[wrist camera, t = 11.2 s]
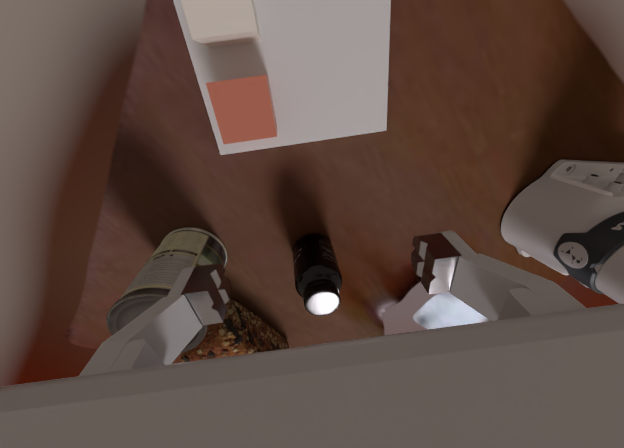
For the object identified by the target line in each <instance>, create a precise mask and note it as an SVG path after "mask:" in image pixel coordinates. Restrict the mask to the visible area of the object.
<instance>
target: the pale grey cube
mask: <svg viewBox="0 0 624 448" xmlns="http://www.w3.org/2000/svg"><path fill="white" fill-rule="evenodd" d="M181 2H182V6H183V9H184V13H185V16H186V19H187V23H188V26H189V30H190V33H191V36H192V39H193V40H195V41H197V42H199V43H201V44H203V45H205V46H207V47H209V48H210V47H218V46H226V45H233V44H241V43H249V42H256V41H261V35H260V30H259V24H258V19H257V13H256V7H255V2H254V0H181Z"/></svg>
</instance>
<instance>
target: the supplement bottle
mask: <svg viewBox="0 0 624 448" xmlns="http://www.w3.org/2000/svg"><path fill="white" fill-rule="evenodd" d="M293 263H294V277H295V287H296V290H297V292H298V294H299V295H300V296H301V297H302V298H303V300H304V306H305V308H306V310H307V311H308V312H309V313H311V314H313V315H317V316H322V315H328V314H330V313H332V312H334V311H335V310H336V309H337V308H338V307H339V305H340V296H339V290H340V288H341V285H342V276H341V273H340V270H339V266H338V263H337V260H336V257H335V253H334V250H333V247H332V244H331V242H330V241H329V240H328V239H327V238H326V237H324V236H322V235H319V234H309V235H306V236H303V237H302V238H300V239H299V240H298V241H297V242H296V243H295V245H294V248H293Z"/></svg>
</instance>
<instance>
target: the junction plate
mask: <svg viewBox="0 0 624 448" xmlns="http://www.w3.org/2000/svg"><path fill="white" fill-rule="evenodd" d="M173 1H174V4H175V8H176V11H177V14H178V17H179V21H180V24H181V27H182V30H183V34H184V37H185V40H186V43H187V47H188V50H189V53H190V56H191V60H192V63H193V66H194V70H195V73H196V76H197V79H198V83H199V86H200V89H201V92H202V96H203V99H204V102H205V105H206V109H207V112H208V115H209V119H210V122H211V125H212V128H213V132H214V135H215V138H216V141H217V145H218V148H219V151H220V154H221V155H225V154H232V153H238V152H245V151H252V150H259V149H265V148H272V147H279V146H286V145H292V144H299V143H306V142H313V141H319V140H326V139H333V138H339V137H346V136H353V135H360V134H366V133H373V132H380V131H386V127H387V97H388V67H389V37H390V7H391V0H254V2H255V7H256V13H257V19H258V24H259V30H260V35H261V41H256V42H249V43H241V44H233V45H226V46H218V47H210V48H209V47H207V46H205V45H203V44H201V43H199V42H197V41H195V40H193V39H192V36H191V33H190V30H189V26H188V23H187V19H186V16H185V13H184V9H183V6H182V2H181V0H173ZM261 75H267V76H268V78H269V83H270V89H271V95H272V100H273V106H274V111H275V117H276V122H277V137H272V138H265V139H258V140H251V141H244V142H237V143H231V144H223V140H222V137H221V134H220V130H219V127H218V123H217V120H216V116H215V113H214V110H213V106H212V103H211V99H210V96H209V93H208V89H207V86H206V83H209V82H216V81H224V80H231V79H239V78H246V77H253V76H261Z"/></svg>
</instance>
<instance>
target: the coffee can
mask: <svg viewBox="0 0 624 448" xmlns="http://www.w3.org/2000/svg"><path fill="white" fill-rule="evenodd" d="M226 262H227V251H226V248H225V246H224V244H223V243H222V242H221V241H220V240H219V239H218V238H217V237H216V236H215V235H213V234H212V233H210V232H208V231H205V230H203V229H199V228H180V229H177V230H174V231H172V232H170V233H169V234H168V235H167V236H166V237H165V238H164V239H163V240H162V242H161V244H160V245H159V247H158V248H157V249H156V251H155V252H154V253H153V255H152V256H151V257H150V259H149V260H148V262H147V263H146V264H145V266H144V267H143V268H142V270H141V271H140V272H139V274H138V275H137V276H136V278H135V279H134V280H133V282H132V283H131V284H130V286H129V287H128V288H127V290H126V291H125V292H124V294H123V295H122V296H121V298H120V299H119V300H118V301H117V302H116V303H115V304H114V305H113V306H112V307H111V309H110V310H109V312H108V314H107V319H106V321H107V327H108V329H109V331H110V333H111V334H112V335H114V334H115V333H116V332H118V331H119V330H120V329H122V328H123V327H124V326H126V325H127V324H128V323H130V322H131V321H132V320H134V319H135V318H136V317H138V316H139V315H140V314H142V313H143V312H144V311H146V310H147V309H148V308H150V307H151V306H152V305H154V304H155V303H156V302H158V301H159V300H160V299H162V298H163V297H167V295H168V294H169V292H170V290H171V288H172V287H173V285H174V283H175V281H176V280H177V278H178V276H179V274H180V273H181V271H182V269H184V268H186V267H194V266H201V265H210V264H218V263H220V264H222V265H223V267H225V265H226ZM206 331H207V325H204V326H202V328H201V329H200V330H199V331H198V333H197V334H196V335H195V336H194V337H193V339H192V340H191V341H190V342H189V343H188V344H187V346H186V347H185V348H184V349H183V350H182V351H181V353H182V352H186V351H188V350H191V349H193V348H194V347H196V346H197V345H198V344H199V343H200V342H201V341H202V340H203V338H204V337H205V335H206Z"/></svg>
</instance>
